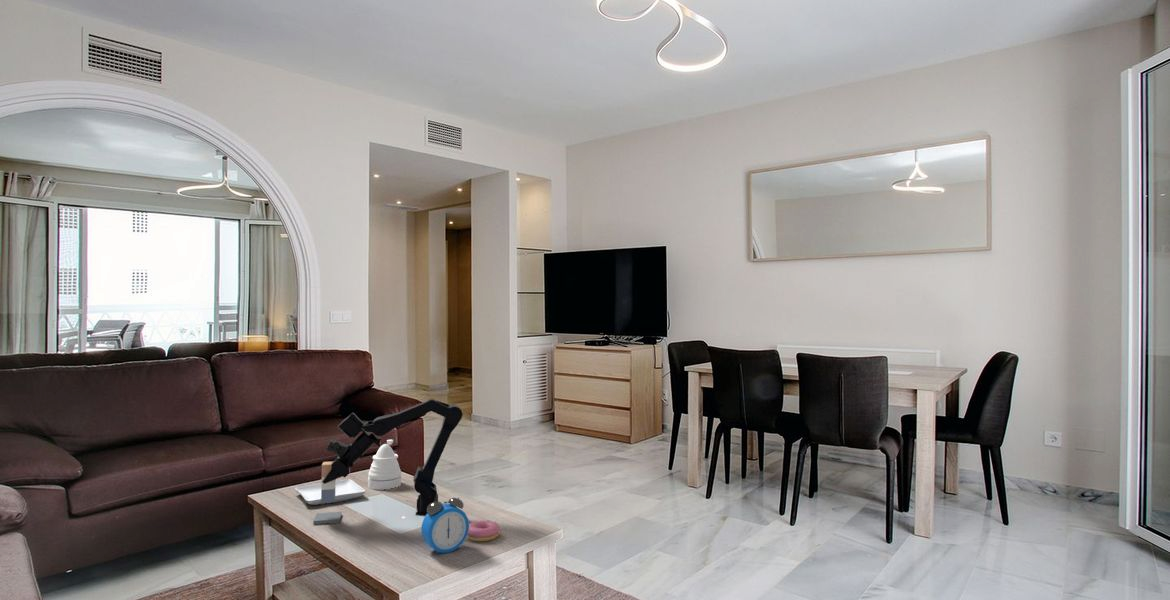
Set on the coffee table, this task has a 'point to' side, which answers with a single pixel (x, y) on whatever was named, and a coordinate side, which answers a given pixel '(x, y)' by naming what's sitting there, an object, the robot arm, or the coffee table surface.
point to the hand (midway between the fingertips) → (324, 481)
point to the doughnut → (483, 530)
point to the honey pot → (384, 469)
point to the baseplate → (327, 517)
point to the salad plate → (342, 492)
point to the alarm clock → (445, 525)
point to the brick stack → (327, 484)
